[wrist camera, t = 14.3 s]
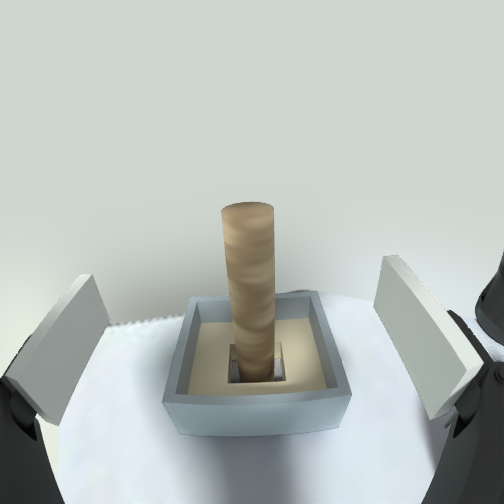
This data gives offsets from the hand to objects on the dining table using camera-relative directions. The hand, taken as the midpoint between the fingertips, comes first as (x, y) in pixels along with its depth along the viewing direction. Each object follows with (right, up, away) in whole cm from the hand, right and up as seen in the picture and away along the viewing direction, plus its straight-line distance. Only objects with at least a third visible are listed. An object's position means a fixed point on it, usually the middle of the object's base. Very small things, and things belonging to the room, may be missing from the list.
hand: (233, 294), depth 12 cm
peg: (+1, -13, +18) cm, 22 cm away
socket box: (+1, -13, +18) cm, 22 cm away
